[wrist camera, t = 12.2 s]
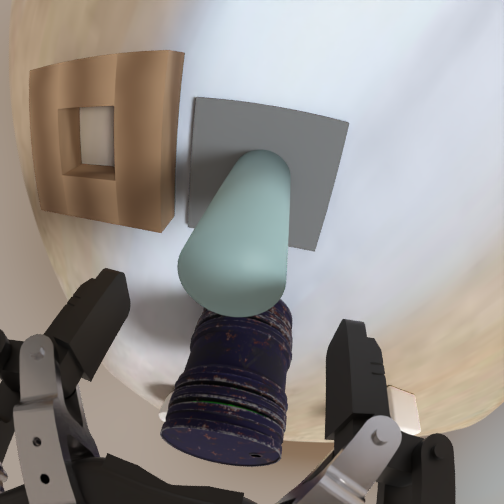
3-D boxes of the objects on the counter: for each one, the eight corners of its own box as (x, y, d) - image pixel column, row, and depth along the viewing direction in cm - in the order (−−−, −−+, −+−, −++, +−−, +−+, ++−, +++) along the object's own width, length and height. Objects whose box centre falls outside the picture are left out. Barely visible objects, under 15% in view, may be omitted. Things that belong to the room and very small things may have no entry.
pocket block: (184, 52, 17) (168, 50, 15) (174, 216, 25) (161, 233, 23) (51, 67, 18) (29, 70, 15) (58, 197, 26) (41, 210, 23)
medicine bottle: (355, 403, 39) (357, 472, 29) (389, 384, 36) (398, 458, 26) (382, 412, 41) (387, 473, 31) (415, 393, 37) (425, 459, 27)
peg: (295, 155, 20) (297, 242, 10) (284, 209, 23) (274, 324, 13) (236, 145, 20) (177, 220, 10) (229, 198, 23) (178, 305, 13)
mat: (347, 122, 19) (349, 123, 18) (314, 247, 25) (314, 251, 24) (198, 96, 19) (196, 97, 19) (190, 223, 25) (187, 227, 25)
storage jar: (207, 342, 34) (173, 453, 22) (197, 280, 29) (142, 414, 17) (289, 351, 33) (278, 470, 21) (298, 289, 28) (290, 439, 15)
